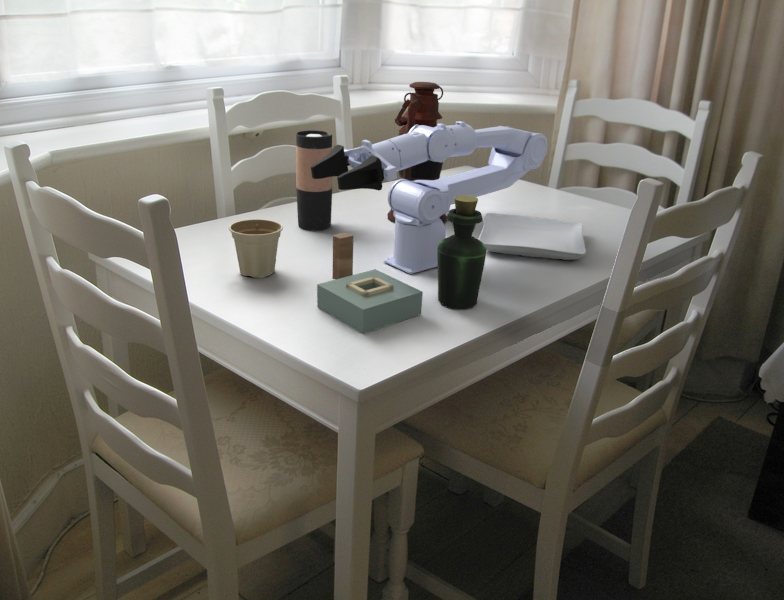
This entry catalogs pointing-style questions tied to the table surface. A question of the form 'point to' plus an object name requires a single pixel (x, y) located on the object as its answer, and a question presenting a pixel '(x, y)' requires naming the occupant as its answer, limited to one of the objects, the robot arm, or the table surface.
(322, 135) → the travel mug
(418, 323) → the table surface
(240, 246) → the flower pot
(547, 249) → the salad plate
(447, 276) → the potion bottle
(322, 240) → the table surface
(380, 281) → the sage green square pedestal
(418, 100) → the lantern
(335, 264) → the brown wooden block
